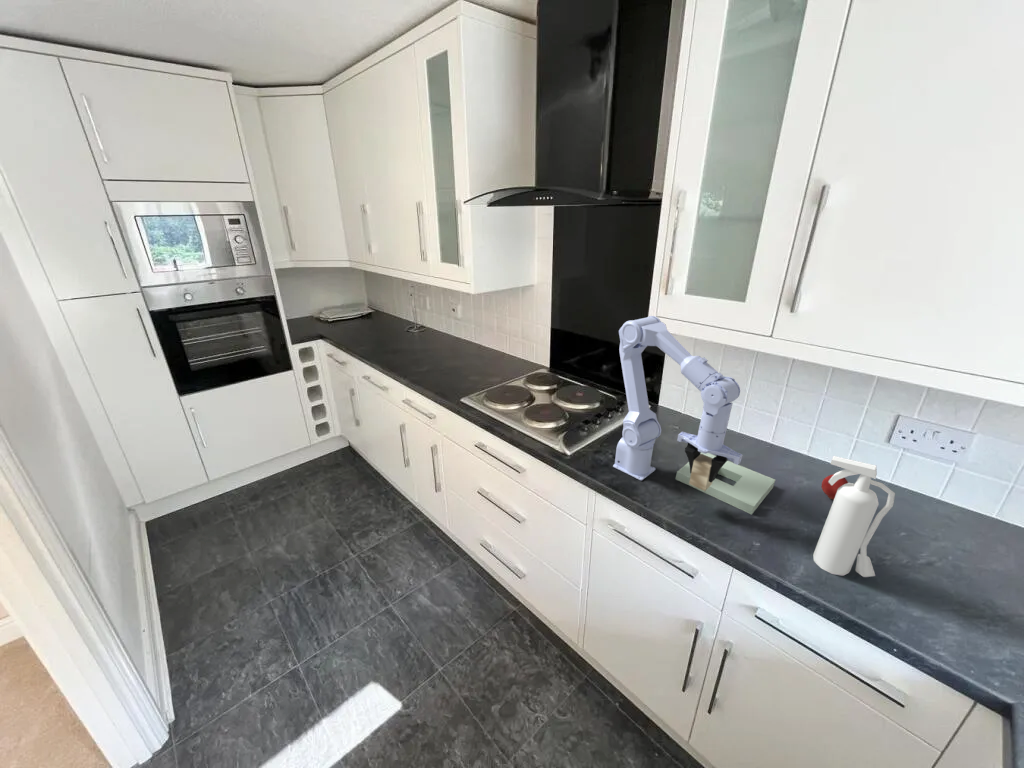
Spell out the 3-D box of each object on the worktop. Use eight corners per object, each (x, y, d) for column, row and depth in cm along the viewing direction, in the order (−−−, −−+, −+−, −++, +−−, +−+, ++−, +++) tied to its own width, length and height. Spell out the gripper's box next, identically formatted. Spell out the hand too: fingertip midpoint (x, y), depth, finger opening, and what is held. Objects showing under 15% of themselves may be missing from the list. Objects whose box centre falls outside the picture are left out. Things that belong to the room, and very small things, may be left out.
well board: (675, 479, 118) (676, 471, 117) (700, 457, 128) (702, 450, 127) (751, 514, 105) (753, 506, 104) (773, 487, 115) (775, 479, 114)
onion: (819, 488, 114) (828, 463, 111) (845, 497, 111) (855, 472, 108) (816, 499, 110) (825, 473, 107) (843, 508, 107) (854, 482, 104)
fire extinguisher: (869, 592, 84) (912, 485, 75) (799, 560, 92) (829, 460, 83) (875, 574, 88) (915, 471, 79) (807, 544, 96) (837, 448, 87)
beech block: (689, 483, 105) (693, 459, 102) (696, 477, 108) (701, 453, 105) (704, 491, 102) (710, 466, 100) (712, 484, 105) (717, 460, 102)
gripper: (675, 422, 101) (666, 469, 106) (738, 446, 91) (725, 496, 97) (688, 413, 105) (680, 459, 111) (750, 434, 96) (737, 484, 101)
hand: (702, 476), depth 104 cm, fingers closed on beech block, 4 cm apart
